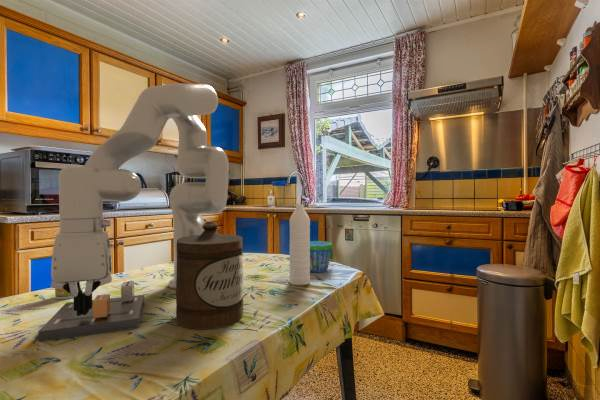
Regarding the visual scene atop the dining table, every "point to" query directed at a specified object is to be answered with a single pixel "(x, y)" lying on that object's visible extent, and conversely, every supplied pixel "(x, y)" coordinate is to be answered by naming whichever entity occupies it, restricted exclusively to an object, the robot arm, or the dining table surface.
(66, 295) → the supplement bottle
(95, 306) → the orange fader
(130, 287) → the block
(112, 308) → the console
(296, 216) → the water bottle
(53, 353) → the dining table surface
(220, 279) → the wooden container
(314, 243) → the snack cup
